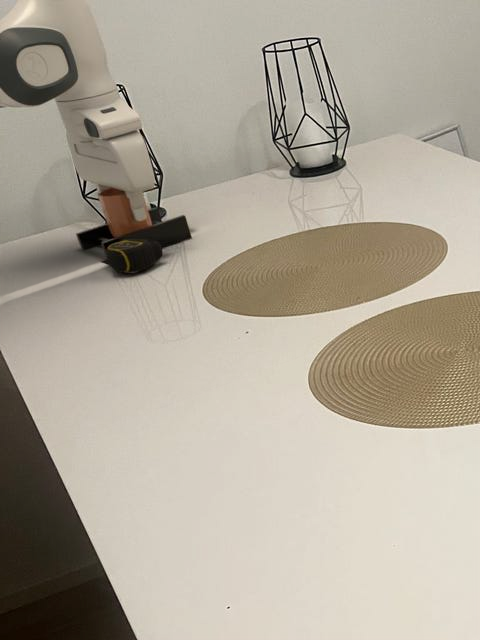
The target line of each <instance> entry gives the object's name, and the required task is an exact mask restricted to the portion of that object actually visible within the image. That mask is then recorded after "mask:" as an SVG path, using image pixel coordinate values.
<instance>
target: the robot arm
mask: <svg viewBox="0 0 480 640" xmlns="http://www.w3.org/2000/svg"><path fill="white" fill-rule="evenodd" d="M107 60H108V59H107V52H106V48H105V46H104V43H103V40H102V36H101V34H100V32H99V28H98V26H97V23H96V20H95V18H94V16H93V13H92V11H91V9H90V6H89V5H88V3H87V1H86V0H17V2H16V3H15V4H14V6H13V7H12V8H11V10H10V11H9V12H8V13H7V14H6V15H5V16H3V18H2V19H0V109H2V108H35V107H40V106H42V105H44V104H46V103H48V102H50V101H52V100H54V101H55V104H56V107H57V109H58V111H59V112H58V113H59V115H60V118H61V121H62V124H63V126H64V128H65V135H66V136H65V137H66V141H67V145H68V149H69V152H70V156H71V158H72V161H73V164H74V168H75V170H76V172H77V175H78V176H79V177H80V179H81V180H83V181H85V182H90V183H93V184H94V186H95V188H96V191H97V193H100V192H101V191H103V190H105V189H108V188H115V189H119V190H123V191H125V193H126V195H127V198H129V200H130V206H131V208H130V209H129V210H130V213H131V215H132V218H133V219H134V220H136V221H142V220H145V219H146V218H147V215H146V212H145V209H144V199H145V193H144V192H147V191H150V190H153V189H154V188H155V181H156V178H155V172H154V168H153V165H152V161H151V158H150V157H151V156H150V155H149V151H148V147H147V144H146V142H145V139H144V137H143V135H142V134H141V132H139V130H142V128H143V123H142V120H141V117H140V115H139V114H138V112H137V111H135V110H134V109H133V108H131V107H130V106H129V105H128V103H126V102H125V100H124V98H122V97H121V95H120V93H119V89H118V86H117V83H116V82H115V79H113V77H112V75H111V73H110V70H109V67H108V61H107Z"/></svg>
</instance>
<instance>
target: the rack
mask: <svg viewBox="0 0 480 640" xmlns="http://www.w3.org/2000/svg"><path fill="white" fill-rule="evenodd" d="M148 211H149V214H150V217H151V220H152V224H153V225H152V226H149V227H146V228H143V229H140V230H137V231H134V232H131V233H128V234H125V235H122V236H119V237H116V238H115V237H113V236H112V234H111V232H110V229H109V226H108V223H107V222H106V223H104V224H100V225H98V226H95V227H92V228H89V229H86V230H82V231H79V232H77V233H75V235H76V238H77V241H78V243H79V246H80V249H81V251H83V252H85V251H88V250H90V249H94V248H99V249H102V250H103V253H104V255H105V258H106V259H105V260H101V261H100V263H102V264H105V265H107V266H110V264H109V262H108V258H107V252H106V250H107V248H108V247H109V246H110V245H111V244H114V243H117V242H121V241H122V240H124V239H146V240H153V241H157V242H159V243H160V245H161V247H162V249H165V248H168V247H171V246H174V245H177V244H180V243H182V242H185V241H188V240H190V239H193V236H192V233H191V230H190V227H189V223H188V220H187V217H186V215H185V214H182V215H179V216H175V217H173V218H170V219H167V220H164V221H163V220H162V217H161V214H160V213H161V212H160V210H159V208H158V207H153V208H149V209H148Z"/></svg>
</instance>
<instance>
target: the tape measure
mask: <svg viewBox="0 0 480 640" xmlns="http://www.w3.org/2000/svg"><path fill="white" fill-rule="evenodd" d="M106 252H107V258H108V262H109V264H110V265H109V266H110V268H112V270H113V271H115V272H117V273H126V274H137V273H138V272H140V271H141V270H145V269H148V268H149V267H151V266H152V265H154V264H155V263H157V262H158V261H159V260H160V259H161V258H162V257H163V254H164V252H163V248H162V247H161V245H160V243H159V242H157V241H153V240H146V239H124V240H122V241H121V242H117V243H114V244H111V245H110V246H109V247H108V248H107V250H106ZM107 258H106V259H107Z"/></svg>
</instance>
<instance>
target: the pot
mask: <svg viewBox="0 0 480 640" xmlns="http://www.w3.org/2000/svg"><path fill="white" fill-rule="evenodd" d="M97 198H98V200H99V203H100V206H101V209H102V212H103V215H104V217H105V220H106V224H107V223H108V226H109V229H110V232H111V234H112V236H113V237H115V238H116V237H119V236H122V235H125V234H128V233H131V232H134V231H137V230H140V229H143V228H146V227H149V226H152V225H153V224H152V220H151V217H150V214H149V211H148V210H149V209H148V205H147V202H146V199H145V198H144V209H145V212H146V215H147V218H146V219H145V220H142V221H136V220H134V219H133V218H132V215H131V213H130V210H129V209H130V208H131V206H130V200H129V198H127V195H126V193H125V191H123V190H119V189H115V188H108V189H105V190H103V191H101V192H100V193H99V192H97Z"/></svg>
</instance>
